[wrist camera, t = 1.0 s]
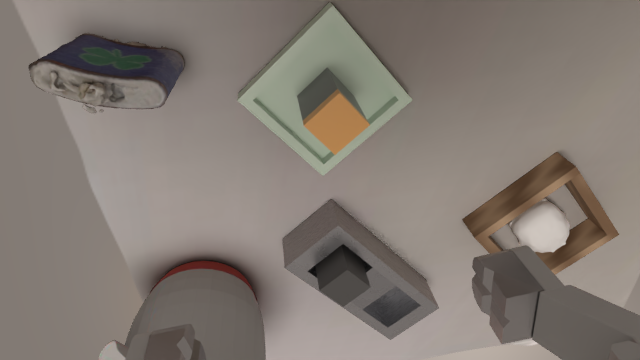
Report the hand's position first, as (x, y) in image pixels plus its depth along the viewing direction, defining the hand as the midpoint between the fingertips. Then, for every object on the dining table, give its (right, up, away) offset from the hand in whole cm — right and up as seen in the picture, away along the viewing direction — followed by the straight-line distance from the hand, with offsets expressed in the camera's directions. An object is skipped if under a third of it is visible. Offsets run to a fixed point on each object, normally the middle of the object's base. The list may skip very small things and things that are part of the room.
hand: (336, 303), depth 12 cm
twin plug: (+1, -5, +39) cm, 39 cm away
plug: (0, +12, +29) cm, 31 cm away
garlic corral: (+27, -2, +42) cm, 50 cm away
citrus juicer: (-16, -10, +41) cm, 45 cm away
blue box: (-17, +15, +25) cm, 34 cm away
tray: (0, +12, +29) cm, 32 cm away
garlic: (+28, -2, +43) cm, 51 cm away
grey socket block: (+5, -7, +42) cm, 43 cm away
